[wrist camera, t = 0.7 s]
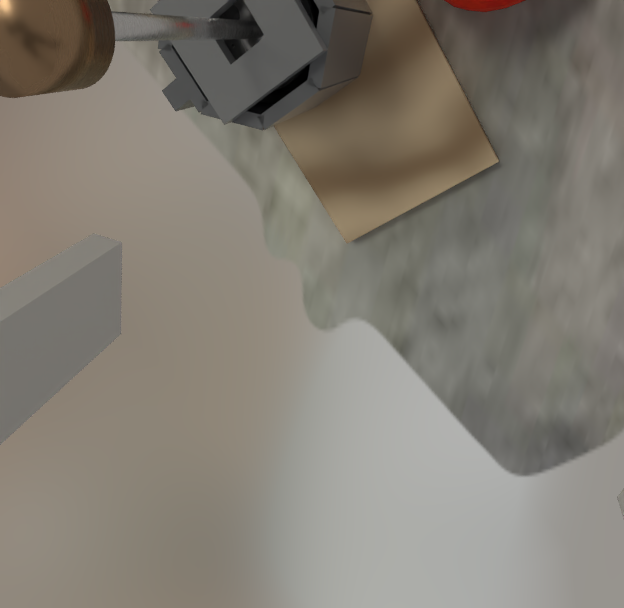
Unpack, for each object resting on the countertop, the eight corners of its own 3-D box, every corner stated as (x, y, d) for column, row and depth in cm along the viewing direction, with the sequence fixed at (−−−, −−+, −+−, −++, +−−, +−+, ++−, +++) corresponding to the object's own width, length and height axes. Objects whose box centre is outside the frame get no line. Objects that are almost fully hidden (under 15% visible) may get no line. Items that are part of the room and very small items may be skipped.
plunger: (186, 12, 31) (-154, -14, 15) (272, -67, 28) (-28, -216, 12) (249, 113, 33) (10, 195, 16) (337, 48, 30) (157, 64, 13)
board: (195, -11, 40) (188, -12, 39) (340, -147, 34) (336, -153, 33) (350, 238, 45) (346, 243, 44) (498, 158, 39) (498, 161, 38)
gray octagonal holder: (191, 29, 40) (91, 28, 29) (319, -85, 34) (251, -137, 24) (263, 143, 42) (193, 178, 32) (394, 52, 37) (361, 59, 26)
